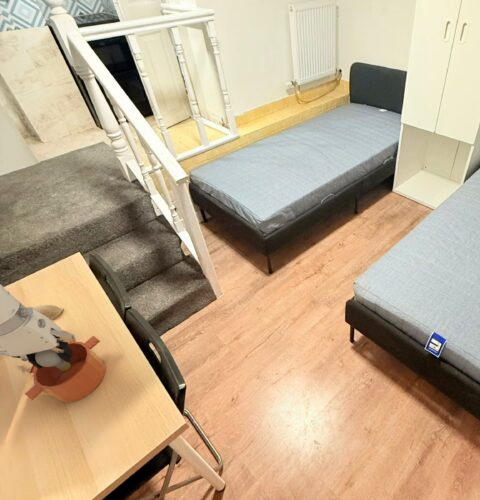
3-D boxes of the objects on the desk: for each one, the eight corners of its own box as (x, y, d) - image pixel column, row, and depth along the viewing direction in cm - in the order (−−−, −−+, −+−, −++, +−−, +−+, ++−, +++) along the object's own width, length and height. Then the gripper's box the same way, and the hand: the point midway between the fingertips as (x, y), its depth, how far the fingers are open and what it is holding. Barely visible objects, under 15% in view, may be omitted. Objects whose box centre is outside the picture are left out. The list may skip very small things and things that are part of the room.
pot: (34, 396, 86) (11, 382, 80) (96, 342, 97) (80, 326, 91) (61, 421, 82) (39, 408, 76) (123, 362, 92) (108, 346, 86)
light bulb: (50, 371, 85) (25, 351, 78) (72, 354, 88) (49, 334, 81) (61, 383, 83) (36, 364, 75) (83, 365, 86) (60, 346, 79)
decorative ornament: (59, 319, 103) (48, 309, 99) (30, 323, 102) (19, 313, 99) (64, 308, 106) (54, 298, 102) (36, 312, 105) (25, 302, 101)
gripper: (55, 295, 73) (97, 338, 86) (-34, 312, 70) (23, 354, 83) (44, 323, 68) (90, 365, 81) (-52, 344, 65) (11, 383, 78)
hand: (55, 359), depth 82 cm, fingers closed on light bulb, 5 cm apart
